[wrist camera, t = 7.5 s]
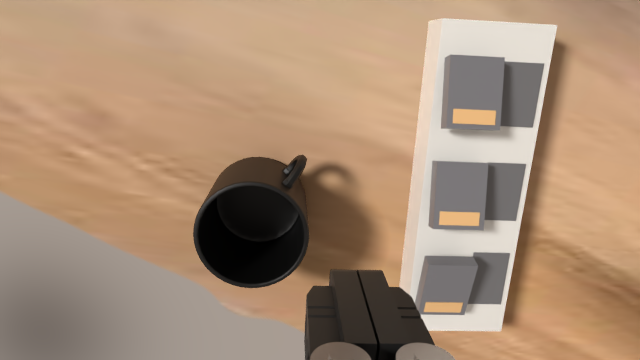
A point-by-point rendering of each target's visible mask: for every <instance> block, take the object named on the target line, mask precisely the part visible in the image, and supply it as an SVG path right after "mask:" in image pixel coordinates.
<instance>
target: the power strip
mask: <svg viewBox="0 0 640 360" xmlns="http://www.w3.org/2000/svg"><path fill="white" fill-rule="evenodd" d="M556 29H557V25H547V24H530V23H513V22H496V21H480V20H463V19H446V18H441V19H436V20H431V21H429V24H428V33H427V42H426V51H425V60H424V69H423V78H422V87H421V96H420V105H419V114H418V124H417V133H416V142H415V151H414V160H413V169H412V178H411V187H410V196H409V205H408V214H407V223H406V232H405V241H404V250H403V259H402V268H401V277H400V286H399V287H400V288H402V289H403V290H404V291H405V292H406V293H408V294H409V295H410V296H411V297H412V299H413V301H414V303H415V300H416V295H417V291H418V286H419V281H420V276H421V272H422V267H423V262H424V257H425V256H466V257H473V258H474V259H475V261H476V263H477V265H478V269H477V272H476V276H475V279H474V283H473V286H472V290H471V293H470V297H469V300H468V304H467V308H466V311H465V315H421V319H423V321H424V323H425V325H426V328H427V330H429V331H501V328H502V323H503V317H504V312H505V307H506V301H507V296H508V290H509V285H510V279H511V274H512V269H513V263H514V258H515V252H516V247H517V241H518V236H519V231H520V225H521V220H522V214H523V209H524V203H525V198H526V192H527V187H528V182H529V176H530V171H531V165H532V160H533V154H534V149H535V144H536V138H537V133H538V127H539V122H540V116H541V111H542V106H543V100H544V95H545V89H546V84H547V78H548V73H549V68H550V62H551V57H552V51H553V46H554V40H555V35H556ZM450 54H451V55H469V56H488V57H505V63H504V78H503V93H502V109H501V124H500V130H497V131H484V130H461V129H441V116H442V98H443V80H444V62H445V57H447V56H449V55H450ZM432 161H458V162H483V163H488V177H487V191H486V205H485V220H484V230H449V229H432V228H431V227H429V226H428V224H429V208H430V191H431V175H432Z"/></svg>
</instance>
